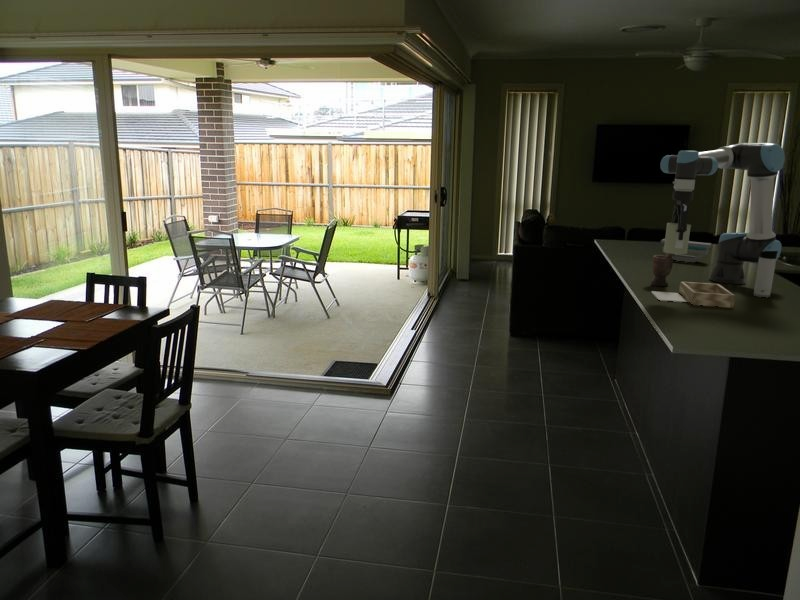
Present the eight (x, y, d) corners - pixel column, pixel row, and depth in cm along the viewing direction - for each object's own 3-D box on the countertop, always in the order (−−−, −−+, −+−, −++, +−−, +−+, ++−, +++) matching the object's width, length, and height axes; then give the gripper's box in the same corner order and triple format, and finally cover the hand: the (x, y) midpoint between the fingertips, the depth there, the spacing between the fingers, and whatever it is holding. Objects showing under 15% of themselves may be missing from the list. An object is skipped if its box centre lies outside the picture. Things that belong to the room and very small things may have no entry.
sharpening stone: (708, 262, 360) (711, 243, 357) (706, 264, 354) (709, 244, 351) (661, 257, 373) (664, 238, 371) (658, 259, 367) (661, 240, 364)
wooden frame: (716, 295, 276) (718, 284, 275) (733, 307, 254) (735, 295, 253) (678, 292, 278) (680, 281, 277) (691, 304, 257) (693, 292, 256)
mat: (678, 294, 275) (678, 293, 275) (687, 302, 260) (687, 301, 260) (651, 292, 277) (651, 291, 277) (658, 300, 262) (658, 299, 262)
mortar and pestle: (676, 285, 295) (682, 241, 291) (677, 288, 287) (683, 243, 283) (649, 282, 299) (654, 239, 294) (649, 286, 291) (655, 241, 286)
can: (689, 254, 259) (693, 224, 256) (665, 253, 261) (669, 223, 258) (684, 251, 268) (688, 222, 265) (661, 250, 269) (664, 221, 267)
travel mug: (764, 298, 273) (772, 251, 268) (750, 295, 278) (757, 249, 274) (773, 297, 276) (781, 250, 271) (759, 294, 281) (766, 248, 277)
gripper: (667, 188, 269) (660, 242, 275) (679, 191, 249) (672, 249, 254) (686, 189, 268) (679, 243, 273) (700, 192, 248) (692, 250, 253)
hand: (675, 246), depth 264 cm, fingers closed on can, 9 cm apart
